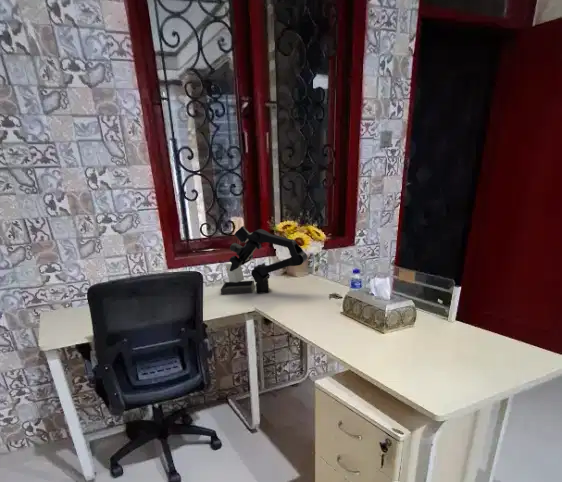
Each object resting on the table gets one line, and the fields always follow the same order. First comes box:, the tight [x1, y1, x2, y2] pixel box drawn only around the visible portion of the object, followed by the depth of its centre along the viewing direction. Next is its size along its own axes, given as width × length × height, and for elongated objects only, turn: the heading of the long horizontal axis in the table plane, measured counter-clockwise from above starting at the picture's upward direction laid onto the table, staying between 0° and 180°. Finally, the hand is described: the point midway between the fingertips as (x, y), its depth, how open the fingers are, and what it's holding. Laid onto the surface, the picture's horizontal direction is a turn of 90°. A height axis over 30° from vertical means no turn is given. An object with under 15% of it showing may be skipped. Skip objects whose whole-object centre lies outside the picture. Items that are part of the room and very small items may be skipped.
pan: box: [220, 279, 256, 295], centre depth 236 cm, size 17×13×3 cm
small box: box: [224, 261, 245, 282], centre depth 233 cm, size 8×6×10 cm
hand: (233, 269), depth 232 cm, fingers closed on small box, 7 cm apart
